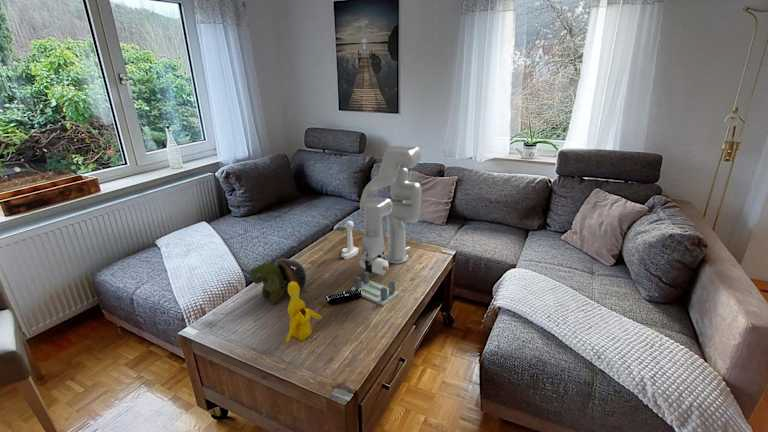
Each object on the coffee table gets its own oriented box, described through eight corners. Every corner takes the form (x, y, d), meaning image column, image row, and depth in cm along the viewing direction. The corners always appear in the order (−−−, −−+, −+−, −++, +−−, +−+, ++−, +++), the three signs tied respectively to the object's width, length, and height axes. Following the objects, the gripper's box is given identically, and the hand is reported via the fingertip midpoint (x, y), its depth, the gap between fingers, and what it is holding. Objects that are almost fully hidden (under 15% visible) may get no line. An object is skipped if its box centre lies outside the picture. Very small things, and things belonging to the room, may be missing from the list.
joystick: (347, 259, 198) (345, 225, 191) (336, 256, 202) (334, 222, 195) (360, 252, 206) (359, 218, 199) (349, 248, 210) (348, 216, 203)
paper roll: (366, 262, 170) (365, 250, 168) (392, 272, 161) (392, 259, 159) (356, 268, 165) (355, 255, 163) (382, 279, 156) (382, 265, 154)
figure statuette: (291, 351, 133) (284, 299, 125) (276, 343, 137) (269, 292, 129) (325, 325, 146) (322, 277, 138) (311, 318, 150) (307, 271, 143)
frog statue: (307, 303, 169) (256, 313, 151) (289, 288, 179) (239, 296, 161) (315, 265, 166) (265, 270, 147) (296, 252, 176) (246, 255, 157)
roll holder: (366, 281, 177) (366, 269, 175) (398, 294, 166) (398, 282, 164) (351, 291, 169) (350, 278, 167) (383, 306, 158) (383, 293, 156)
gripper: (379, 223, 165) (379, 259, 171) (353, 235, 153) (354, 273, 159) (392, 227, 161) (392, 264, 167) (366, 240, 148) (367, 279, 154)
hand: (373, 268), depth 163 cm, fingers closed on paper roll, 6 cm apart
